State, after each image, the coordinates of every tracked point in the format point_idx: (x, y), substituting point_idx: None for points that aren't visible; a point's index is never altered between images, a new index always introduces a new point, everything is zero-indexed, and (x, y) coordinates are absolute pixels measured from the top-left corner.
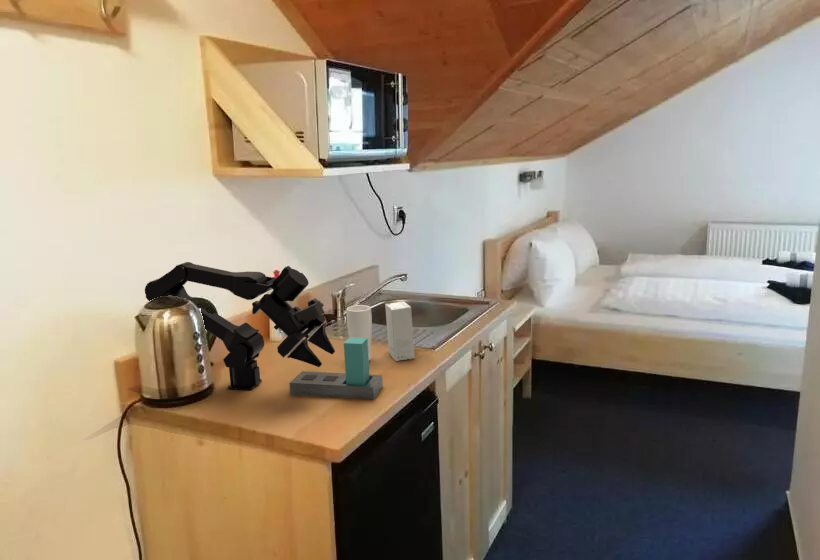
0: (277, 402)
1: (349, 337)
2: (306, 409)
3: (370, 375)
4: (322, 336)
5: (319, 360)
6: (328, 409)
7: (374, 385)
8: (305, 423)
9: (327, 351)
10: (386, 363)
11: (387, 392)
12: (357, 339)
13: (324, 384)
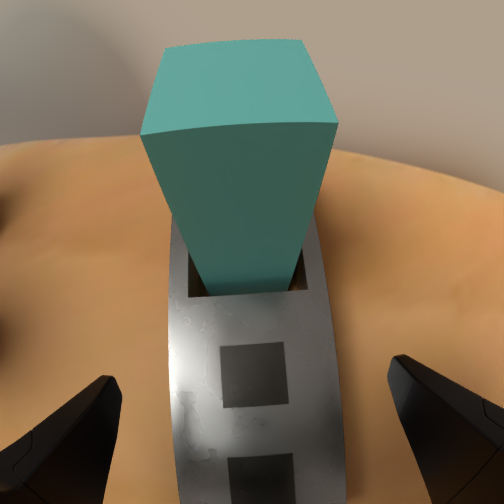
0: (406, 499)
1: (142, 135)
2: None
3: None
4: (38, 490)
5: (412, 368)
6: (417, 301)
7: None
8: (498, 317)
9: (116, 431)
10: (4, 258)
11: None
12: (203, 72)
13: (334, 368)
